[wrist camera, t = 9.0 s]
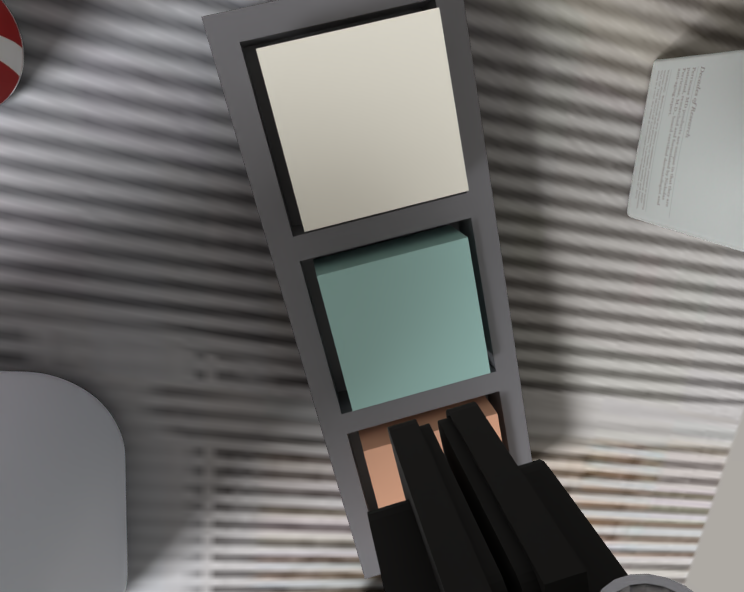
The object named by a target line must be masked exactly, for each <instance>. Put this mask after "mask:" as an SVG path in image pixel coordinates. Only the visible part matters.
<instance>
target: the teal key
mask: <svg viewBox="0 0 744 592" xmlns="http://www.w3.org/2000/svg"><path fill="white" fill-rule="evenodd" d="M313 262H314V266H315V271H316V275H317V279H318V283H319V287H320V290H321V294H322V298H323V302H324V305H325V309H326V313H327V317H328V320H329V324H330V328H331V332H332V335H333V339H334V343H335V347H336V350H337V354H338V358H339V362H340V366H341V369H342V373H343V377H344V381H345V384H346V388H347V392H348V396H349V399H350V403H351V407H352V411H355V410H359V409H362V408H366V407H369V406H373V405H377V404H380V403H384V402H387V401H391V400H395V399H398V398H402V397H405V396H409V395H413V394H416V393H420V392H423V391H427V390H431V389H434V388H438V387H441V386H445V385H449V384H452V383H456V382H459V381H463V380H467V379H470V378H474V377H477V376H481V375H485V374H488V373H490V367H489V361H488V355H487V349H486V343H485V337H484V331H483V325H482V319H481V313H480V307H479V301H478V295H477V289H476V283H475V277H474V271H473V265H472V259H471V253H470V247H469V241H468V237H467V236H465V235H464V234H462V233H461V232H459V231H458V230H456V229H455V228H454V227H452V226H451V225H447V226H443V227H439V228H435V229H431V230H428V231H424V232H420V233H416V234H412V235H408V236H404V237H400V238H396V239H392V240H388V241H385V242H381V243H377V244H373V245H369V246H365V247H361V248H357V249H353V250H349V251H345V252H342V253H338V254H334V255H330V256H326V257H322V258H318V259H314V260H313Z"/></svg>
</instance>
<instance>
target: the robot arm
mask: <svg viewBox="0 0 744 592" xmlns="http://www.w3.org/2000/svg"><path fill="white" fill-rule="evenodd" d="M446 417H447V418H445V419H442V420H438V428H439V433H440V438H441V442H442V447H443V451H444V453H443V451H442V449H441V447H440V444H439V442H438V440H437V438H436V436H435V434H434V432H433V430H432V428H431V426H430V424H429V423H428V424H425V425H421V426H419V424H418V422H417V420H416V419H413V420H410V421H406V422H403V423H399V424H396V425H393V426H389V427H387V429H388V433H389V437H390V441H391V445H392V449H393V453H394V457H395V461H396V464H397V468H398V472H399V476H400V480H401V484H402V488H403V492H404V495H405V499H406V500H404V501H401V502H398V503H395V504H391V505H388V506H385V507H381V508H378V509H375V510H372V511H368V512H367V515H368V520H369V524H370V529H371V533H372V538H373V542H374V546H375V551H376V555H377V560H378V564H379V568H380V573H381V577H382V582H383V586H384V590H385V592H693V591H692V590H690V589H689V588H687V587H686V586H684V585H682V584H680V583H678V582H675V581H673V580H671V579H669V578H666V577H661V576H656V575H651V574H631V575H628V574H627V573H626V572H625V570H624V569H623V568H622V566H621V565H620V564H619V562H618V561H617V559H616V558H615V557H614V555H613V554H612V553H611V551H610V550H609V549H608V547H607V546H606V544H605V543H604V542H603V540H602V539H601V538H600V536H599V535H598V534H597V532H596V531H595V529H594V528H593V527H592V525H591V524H590V523H589V521H588V520H587V519H586V517H585V516H584V514H583V513H582V512H581V510H580V509H579V508H578V506H577V505H576V504H575V502H574V501H573V499H572V498H571V497H570V495H569V494H568V493H567V491H566V490H565V489H564V487H563V486H562V484H561V483H560V482H559V480H558V479H557V478H556V476H555V475H554V474H553V472H552V471H551V469H550V468H549V467H548V466H547V465H546V463H545V462H544V461H542V460H540V459H539V460H536V461H532V462H529V463H526V464H523V465H519V466H518V465H517V464H516V462H515V461H514V459H513V458H512V456H511V455H510V453H509V452H508V450H507V449H506V447H505V445H504V444H503V442H502V441H501V439H500V438H499V436H498V435H497V433H496V432H495V430H494V429H493V427H492V426H491V424H490V423H489V421H488V420H487V418H486V416H485V415H484V413H483V412H482V410H481V409H480V407H479V406H478V404H477V403H476V402H471V403H468V404H464V405H461V406H457V407H454V408H451V409H447V410H446Z"/></svg>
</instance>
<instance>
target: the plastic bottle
mask: <svg viewBox="0 0 744 592" xmlns="http://www.w3.org/2000/svg"><path fill="white" fill-rule="evenodd" d="M127 577H128V564H127V515H126V465H125V447H124V442H123V438H122V435H121V432H120V430H119V428H118V426H117V424H116V422H115V420H114V419H113V417H112V415H111V414H110V413H109V411H108V410H107V409H106V408H105V407H104V405H103V404H102V403H101V402H100V401H99V400H98V399H96V398H95V397H94V396H93V395H91V394H90V393H89V392H87V391H86V390H84V389H83V388H81V387H79V386H77V385H75V384H73V383H71V382H69V381H67V380H64V379H61V378H58V377H55V376H52V375H47V374H42V373H36V372H19V371H0V592H125V591H126V586H127Z"/></svg>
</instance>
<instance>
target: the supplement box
mask: <svg viewBox="0 0 744 592" xmlns="http://www.w3.org/2000/svg"><path fill="white" fill-rule="evenodd" d="M627 214H628V216H629V217H632V218H634V219H637V220H641V221H644V222H647V223H650V224H653V225H657V226H660V227H663V228H667V229H670V230H673V231H677V232H680V233H683V234H686V235H690V236H693V237H696V238H699V239H702V240H706V241H709V242H712V243H716V244H719V245H722V246H726V247H729V248H732V249H736V250H739V251H742V252H744V50H736V51H728V52H720V53H712V54H703V55H693V56H685V57H677V58H668V59H657V60H655V61H654V63H653V69H652V73H651V79H650V84H649V89H648V95H647V100H646V106H645V112H644V117H643V121H642V127H641V133H640V139H639V144H638V149H637V155H636V160H635V166H634V171H633V177H632V183H631V189H630V193H629V200H628V208H627Z"/></svg>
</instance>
